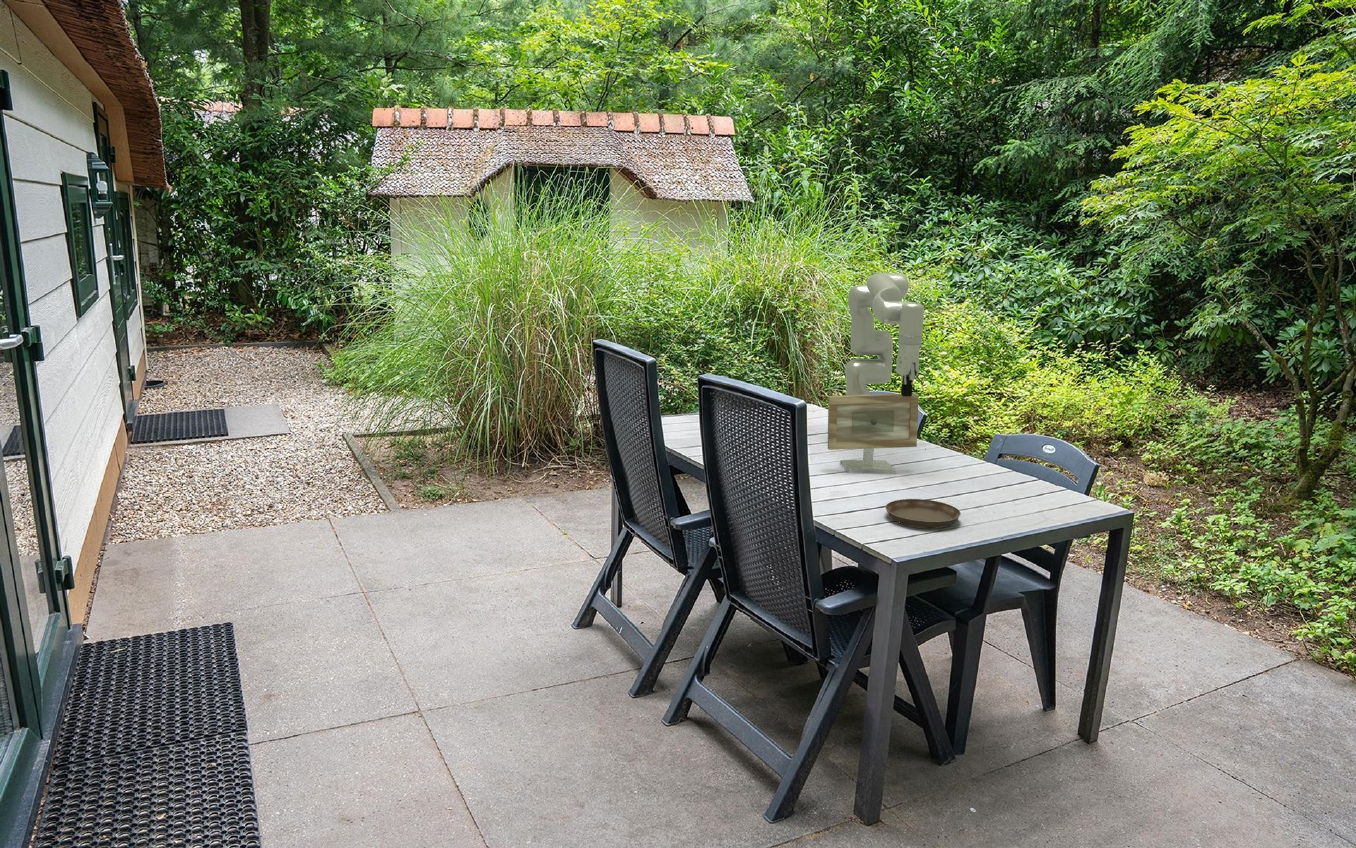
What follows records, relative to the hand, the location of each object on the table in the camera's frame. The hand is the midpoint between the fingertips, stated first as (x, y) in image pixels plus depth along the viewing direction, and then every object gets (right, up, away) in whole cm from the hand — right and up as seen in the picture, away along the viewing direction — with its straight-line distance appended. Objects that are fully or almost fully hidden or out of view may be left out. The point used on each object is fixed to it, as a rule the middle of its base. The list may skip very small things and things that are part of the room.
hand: (906, 395), depth 311 cm
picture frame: (-11, -17, +4) cm, 21 cm away
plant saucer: (-7, -37, -46) cm, 59 cm away
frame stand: (-11, -25, +8) cm, 28 cm away
